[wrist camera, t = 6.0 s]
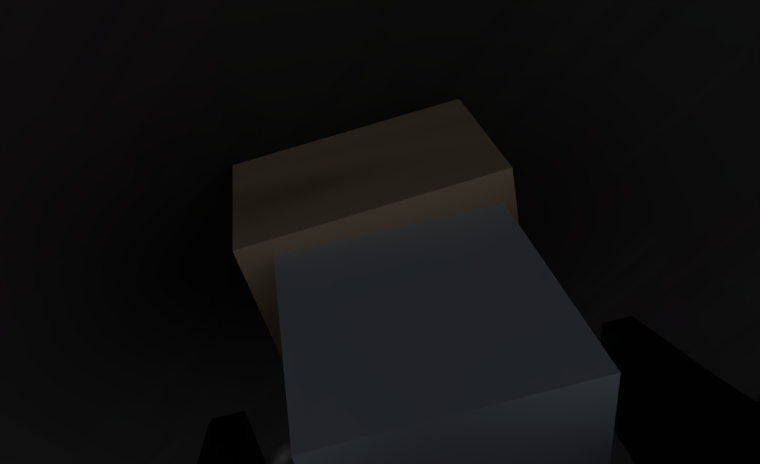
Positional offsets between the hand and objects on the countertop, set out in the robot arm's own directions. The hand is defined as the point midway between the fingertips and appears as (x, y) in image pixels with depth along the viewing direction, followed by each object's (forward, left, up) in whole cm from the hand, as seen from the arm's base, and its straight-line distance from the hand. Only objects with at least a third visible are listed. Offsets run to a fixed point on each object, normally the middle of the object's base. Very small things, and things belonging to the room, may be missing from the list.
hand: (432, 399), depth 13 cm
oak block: (0, 0, -7) cm, 7 cm away
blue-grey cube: (0, 0, -3) cm, 3 cm away
